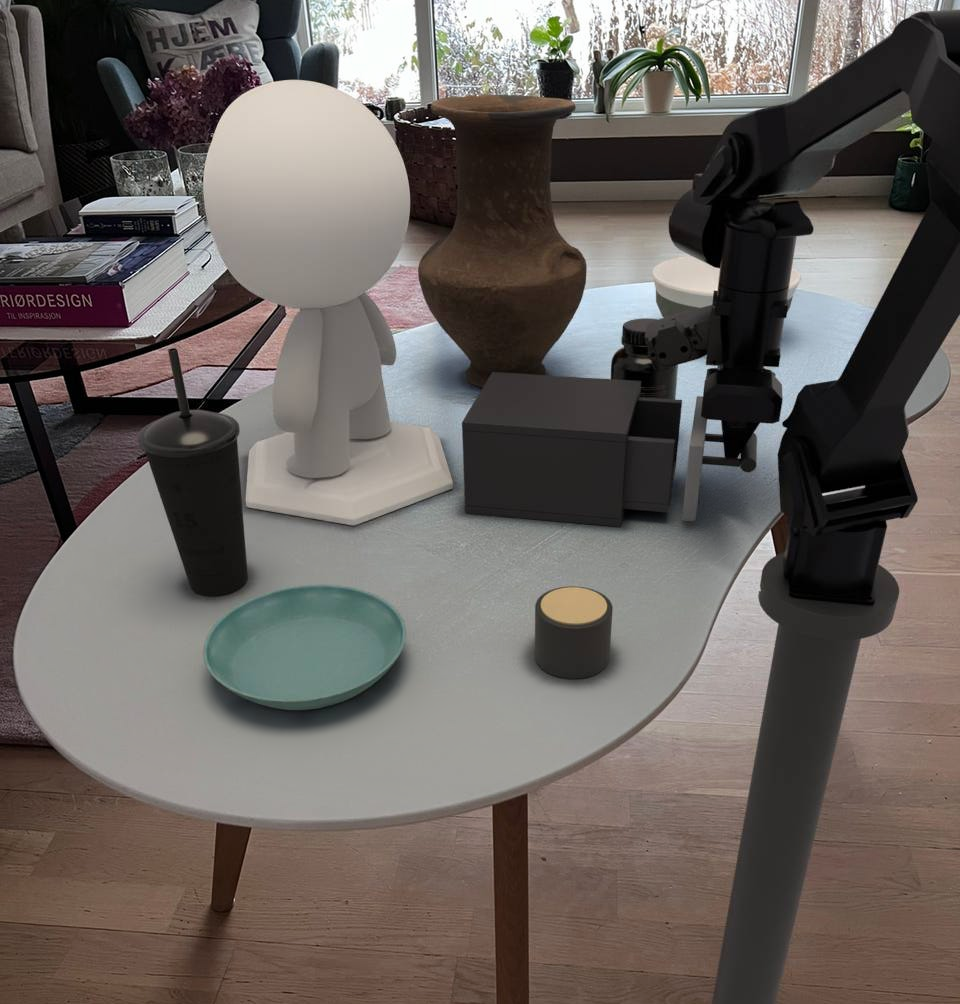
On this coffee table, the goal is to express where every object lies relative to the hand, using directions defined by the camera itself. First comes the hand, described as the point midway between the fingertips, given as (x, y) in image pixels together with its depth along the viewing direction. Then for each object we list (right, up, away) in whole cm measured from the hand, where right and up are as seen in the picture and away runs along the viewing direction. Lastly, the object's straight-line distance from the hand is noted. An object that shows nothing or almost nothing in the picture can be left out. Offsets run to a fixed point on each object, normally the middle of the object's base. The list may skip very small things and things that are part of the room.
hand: (730, 457), depth 93 cm
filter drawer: (-7, -2, +4) cm, 8 cm away
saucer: (-36, -19, -17) cm, 44 cm away
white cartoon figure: (-36, 0, +10) cm, 38 cm away
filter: (-16, -18, -17) cm, 29 cm away
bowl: (+9, +23, +42) cm, 48 cm away
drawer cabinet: (-16, -2, +6) cm, 17 cm away
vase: (-20, +15, +31) cm, 40 cm away
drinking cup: (-45, -12, -7) cm, 47 cm away
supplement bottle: (-6, +5, +16) cm, 18 cm away
